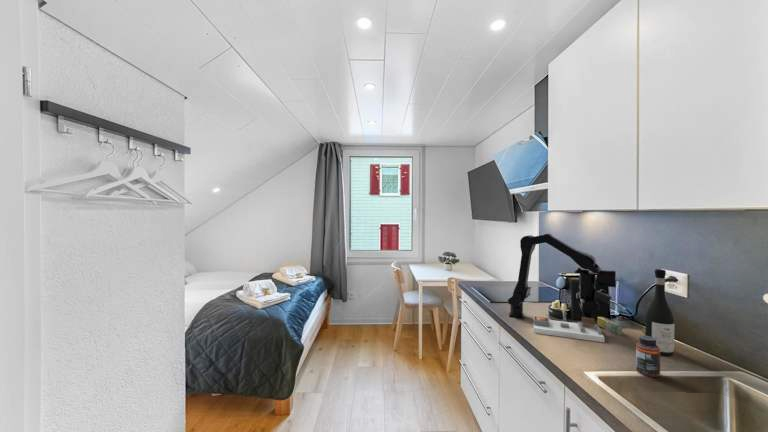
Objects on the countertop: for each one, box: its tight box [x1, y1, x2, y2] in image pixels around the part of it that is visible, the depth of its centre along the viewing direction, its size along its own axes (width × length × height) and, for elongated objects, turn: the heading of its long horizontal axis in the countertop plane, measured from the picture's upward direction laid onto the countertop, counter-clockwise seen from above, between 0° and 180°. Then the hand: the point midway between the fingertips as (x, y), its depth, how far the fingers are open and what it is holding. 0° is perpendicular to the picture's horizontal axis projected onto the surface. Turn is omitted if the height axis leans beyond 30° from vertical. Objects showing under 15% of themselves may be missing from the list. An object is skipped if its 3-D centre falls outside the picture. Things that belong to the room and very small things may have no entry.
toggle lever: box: [561, 310, 568, 322], centre depth 140 cm, size 2×2×4 cm
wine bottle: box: [644, 268, 675, 356], centre depth 119 cm, size 8×8×30 cm
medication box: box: [596, 316, 623, 336], centre depth 141 cm, size 12×3×4 cm, turn 1°
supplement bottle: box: [635, 335, 661, 378], centre depth 103 cm, size 6×6×11 cm
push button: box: [536, 316, 547, 321], centre depth 143 cm, size 4×4×2 cm
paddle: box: [581, 316, 596, 328], centre depth 138 cm, size 1×4×4 cm, turn 66°
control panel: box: [533, 316, 605, 343], centre depth 139 cm, size 14×25×4 cm, turn 66°
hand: (587, 320), depth 141 cm, fingers closed
